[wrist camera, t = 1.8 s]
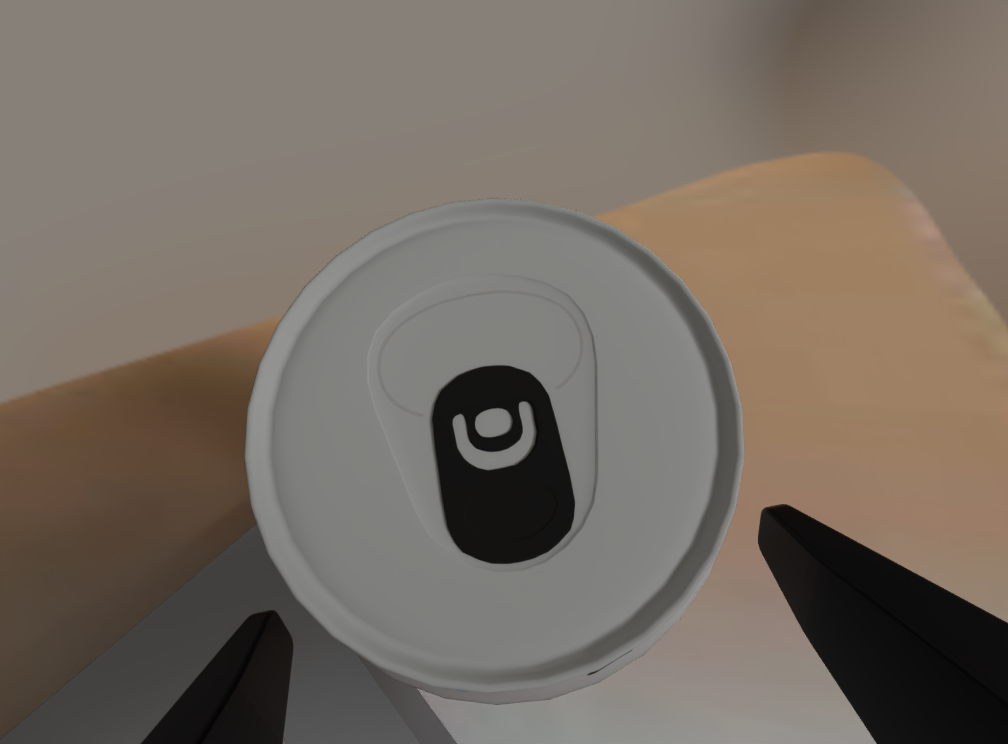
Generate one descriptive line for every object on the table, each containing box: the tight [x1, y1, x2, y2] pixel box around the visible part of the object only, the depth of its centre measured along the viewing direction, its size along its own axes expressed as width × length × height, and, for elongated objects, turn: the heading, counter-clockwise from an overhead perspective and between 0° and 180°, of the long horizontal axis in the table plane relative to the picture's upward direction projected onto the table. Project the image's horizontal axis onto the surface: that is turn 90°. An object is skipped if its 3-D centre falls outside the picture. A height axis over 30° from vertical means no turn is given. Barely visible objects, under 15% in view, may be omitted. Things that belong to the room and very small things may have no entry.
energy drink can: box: [244, 198, 744, 705], centre depth 12 cm, size 6×6×15 cm
